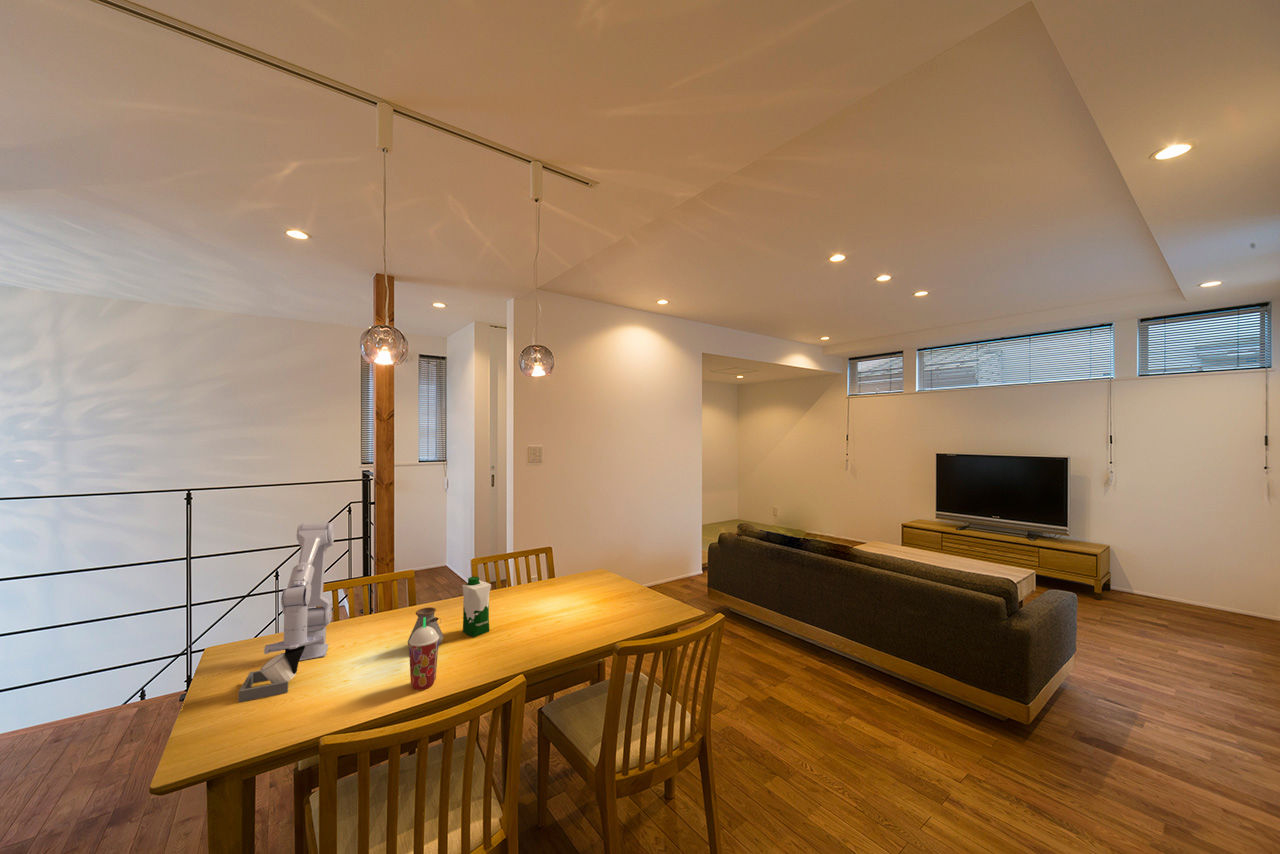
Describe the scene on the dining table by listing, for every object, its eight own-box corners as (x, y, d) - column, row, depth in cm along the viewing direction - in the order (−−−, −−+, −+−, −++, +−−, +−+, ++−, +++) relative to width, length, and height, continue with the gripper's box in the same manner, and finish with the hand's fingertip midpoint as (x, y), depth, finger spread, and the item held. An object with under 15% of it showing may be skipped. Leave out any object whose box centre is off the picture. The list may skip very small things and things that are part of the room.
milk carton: (479, 625, 184) (480, 574, 185) (493, 631, 179) (494, 578, 179) (458, 632, 177) (459, 579, 178) (472, 639, 172) (473, 584, 172)
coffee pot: (404, 645, 166) (405, 603, 167) (438, 637, 173) (439, 596, 174) (417, 670, 149) (418, 622, 150) (455, 660, 156) (456, 614, 157)
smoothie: (442, 677, 145) (444, 612, 145) (431, 692, 136) (433, 623, 137) (415, 677, 145) (416, 612, 145) (402, 692, 136) (403, 623, 136)
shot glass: (297, 667, 145) (284, 649, 143) (300, 674, 140) (286, 655, 138) (272, 685, 141) (258, 666, 139) (274, 692, 136) (260, 673, 134)
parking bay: (249, 682, 141) (250, 672, 141) (294, 673, 146) (295, 664, 146) (238, 702, 130) (238, 691, 130) (287, 692, 136) (287, 682, 136)
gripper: (262, 636, 135) (261, 684, 134) (323, 627, 141) (322, 672, 141) (267, 627, 141) (266, 673, 140) (325, 618, 148) (324, 662, 147)
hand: (294, 672), depth 141 cm, fingers closed, pressing on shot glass
